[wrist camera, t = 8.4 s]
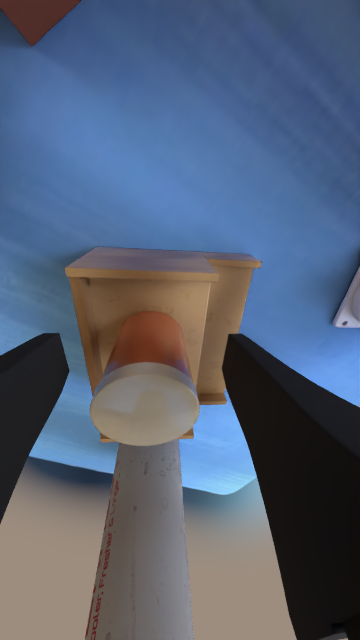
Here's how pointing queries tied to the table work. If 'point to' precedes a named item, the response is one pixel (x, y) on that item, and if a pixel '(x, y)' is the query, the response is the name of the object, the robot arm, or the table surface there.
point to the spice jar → (146, 383)
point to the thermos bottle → (143, 551)
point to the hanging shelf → (36, 15)
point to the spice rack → (162, 305)
